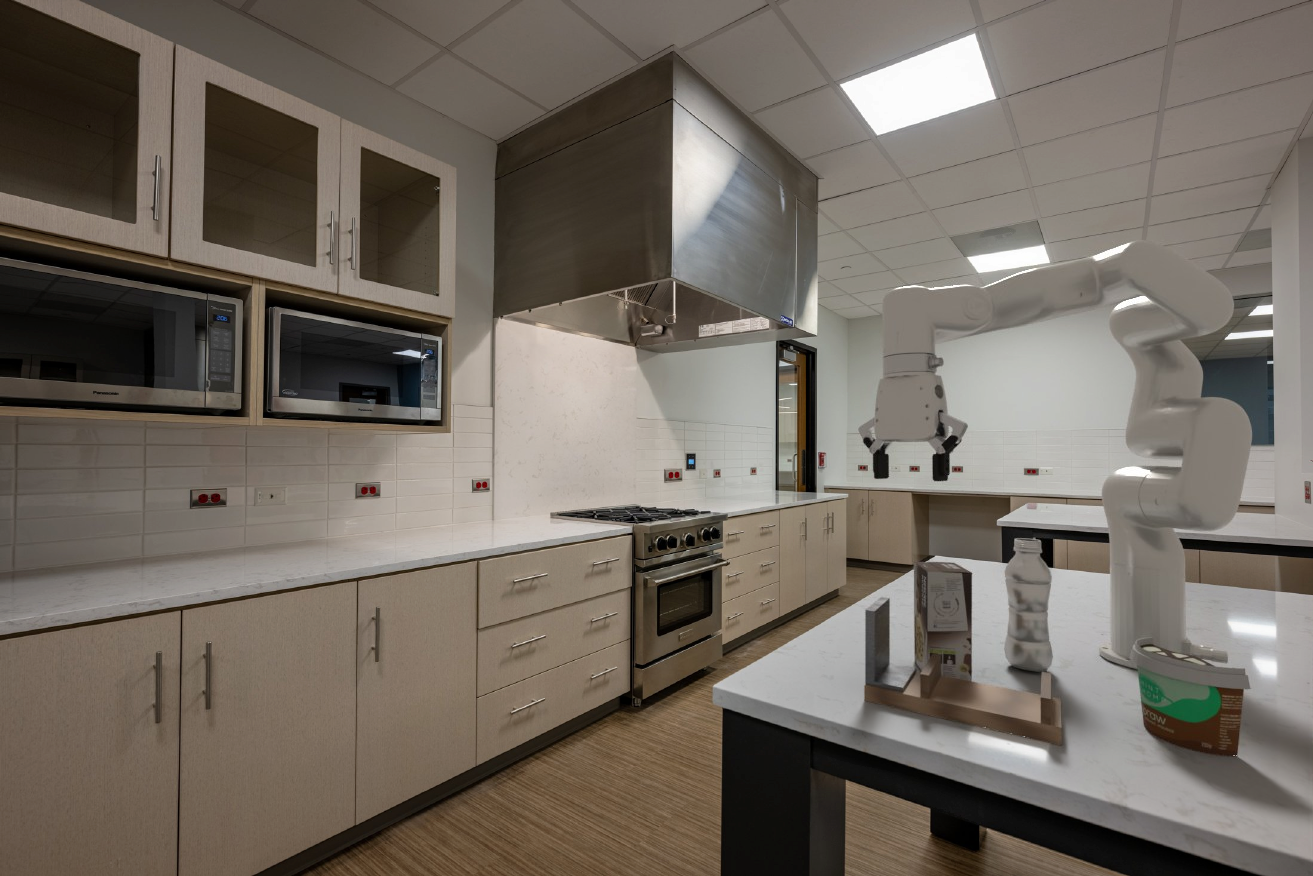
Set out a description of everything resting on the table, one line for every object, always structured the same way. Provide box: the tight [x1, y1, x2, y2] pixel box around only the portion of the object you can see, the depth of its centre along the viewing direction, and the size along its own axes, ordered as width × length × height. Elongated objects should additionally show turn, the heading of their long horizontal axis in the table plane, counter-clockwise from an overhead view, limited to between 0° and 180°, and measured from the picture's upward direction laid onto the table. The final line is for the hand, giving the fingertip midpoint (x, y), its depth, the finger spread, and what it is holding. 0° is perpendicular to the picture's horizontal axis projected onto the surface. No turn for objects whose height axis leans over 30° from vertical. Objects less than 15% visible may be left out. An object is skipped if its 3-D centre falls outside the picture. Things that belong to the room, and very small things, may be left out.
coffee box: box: [913, 561, 973, 682], centre depth 93 cm, size 9×6×16 cm
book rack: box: [863, 653, 1063, 746], centre depth 79 cm, size 22×10×5 cm, turn 57°
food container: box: [1130, 637, 1251, 757], centre depth 72 cm, size 12×6×10 cm, turn 5°
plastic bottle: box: [1003, 537, 1054, 672], centre depth 94 cm, size 6×7×20 cm
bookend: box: [864, 596, 917, 692], centre depth 84 cm, size 5×9×10 cm, turn 147°
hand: (909, 479), depth 93 cm, fingers open, 9 cm apart
